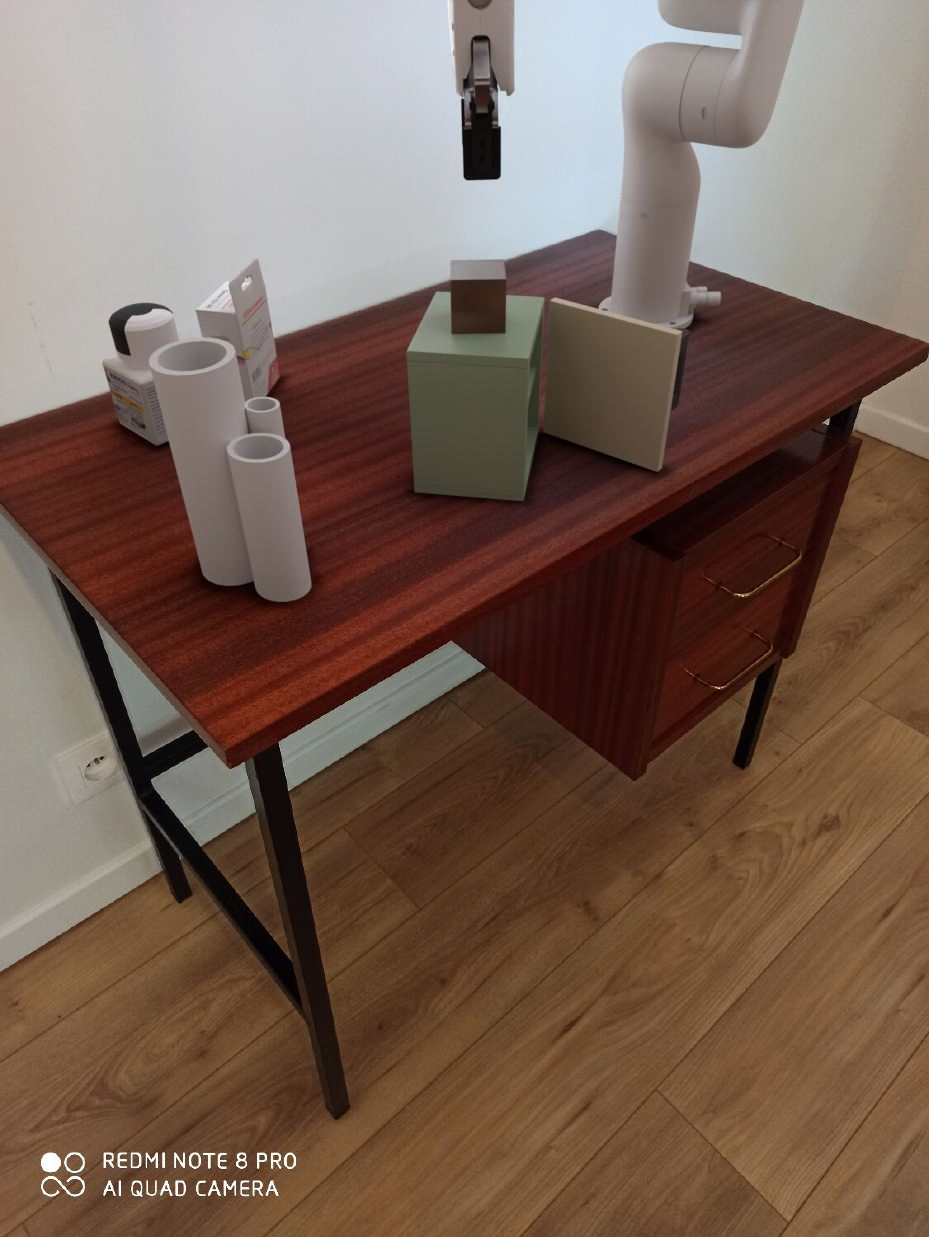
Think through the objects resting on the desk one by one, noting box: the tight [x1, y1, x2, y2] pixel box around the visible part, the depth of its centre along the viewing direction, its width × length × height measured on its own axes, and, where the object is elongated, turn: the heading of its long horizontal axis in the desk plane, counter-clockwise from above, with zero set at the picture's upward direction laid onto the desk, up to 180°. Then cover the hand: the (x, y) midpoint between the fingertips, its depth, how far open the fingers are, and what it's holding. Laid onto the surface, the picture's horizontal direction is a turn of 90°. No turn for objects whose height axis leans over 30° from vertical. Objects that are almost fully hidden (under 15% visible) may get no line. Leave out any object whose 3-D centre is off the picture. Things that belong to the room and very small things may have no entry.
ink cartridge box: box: [195, 257, 281, 402], centre depth 103 cm, size 9×5×15 cm, turn 168°
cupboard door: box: [542, 297, 691, 473], centre depth 94 cm, size 7×14×15 cm, turn 53°
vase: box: [149, 337, 312, 603], centre depth 76 cm, size 11×7×20 cm, turn 67°
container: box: [101, 302, 180, 446], centre depth 98 cm, size 8×8×13 cm
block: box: [449, 258, 508, 334], centre depth 84 cm, size 5×5×5 cm
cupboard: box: [406, 291, 546, 502], centre depth 91 cm, size 11×14×15 cm
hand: (480, 162), depth 82 cm, fingers open, 9 cm apart
